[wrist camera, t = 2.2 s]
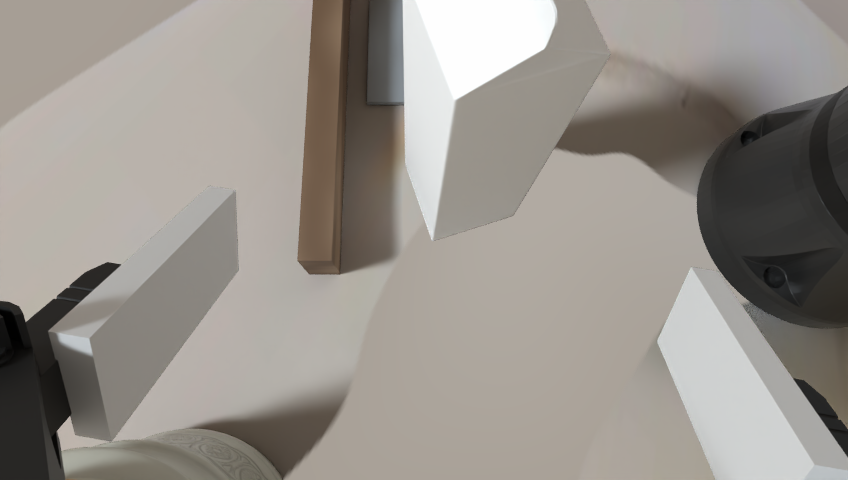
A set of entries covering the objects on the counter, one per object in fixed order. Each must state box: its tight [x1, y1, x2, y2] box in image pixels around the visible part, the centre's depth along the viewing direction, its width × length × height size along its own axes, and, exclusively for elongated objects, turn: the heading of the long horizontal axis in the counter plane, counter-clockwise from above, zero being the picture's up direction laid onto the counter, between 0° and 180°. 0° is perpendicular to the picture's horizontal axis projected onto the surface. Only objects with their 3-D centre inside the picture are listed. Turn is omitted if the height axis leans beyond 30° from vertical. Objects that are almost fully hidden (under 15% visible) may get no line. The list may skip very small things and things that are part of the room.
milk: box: [403, 0, 611, 241], centre depth 27 cm, size 6×6×22 cm
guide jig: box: [297, 0, 404, 274], centre depth 38 cm, size 16×26×4 cm, turn 0°
